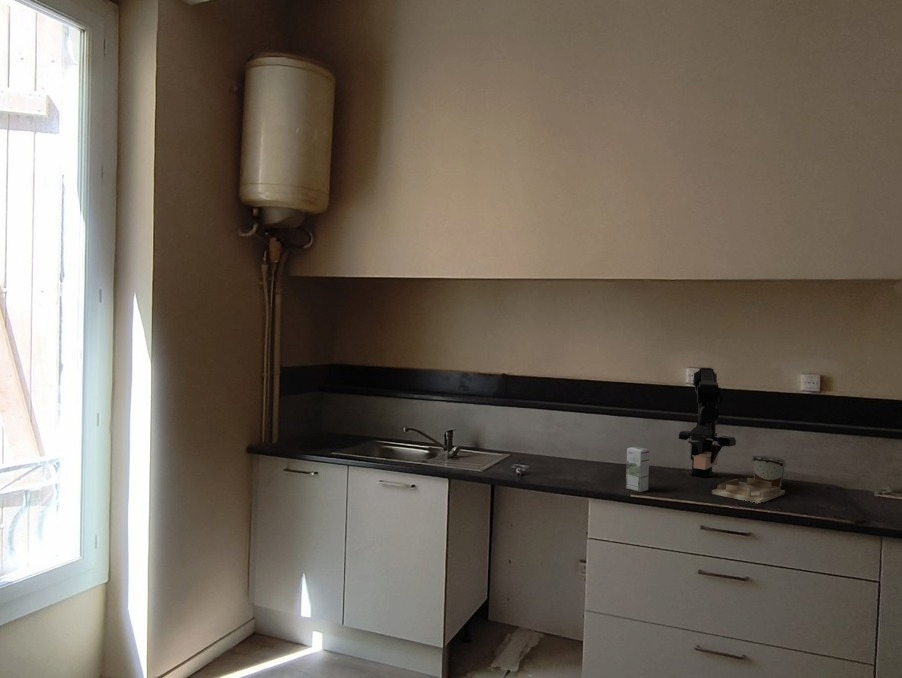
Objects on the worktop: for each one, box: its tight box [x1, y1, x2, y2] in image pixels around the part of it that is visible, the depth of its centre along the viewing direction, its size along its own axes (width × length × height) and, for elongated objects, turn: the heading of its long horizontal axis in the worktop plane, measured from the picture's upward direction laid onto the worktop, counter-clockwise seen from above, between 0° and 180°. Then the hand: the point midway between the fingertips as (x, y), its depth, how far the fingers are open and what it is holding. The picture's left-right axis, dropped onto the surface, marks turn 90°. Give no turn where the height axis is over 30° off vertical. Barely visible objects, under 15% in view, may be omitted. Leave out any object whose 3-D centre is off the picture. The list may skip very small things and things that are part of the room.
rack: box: [711, 477, 786, 504], centre depth 228 cm, size 16×22×4 cm
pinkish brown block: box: [693, 452, 719, 470], centre depth 233 cm, size 4×14×4 cm, turn 141°
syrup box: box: [625, 446, 650, 493], centre depth 228 cm, size 6×6×14 cm
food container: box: [750, 455, 787, 488], centre depth 244 cm, size 12×6×10 cm, turn 41°
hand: (705, 462), depth 233 cm, fingers closed on pinkish brown block, 4 cm apart
